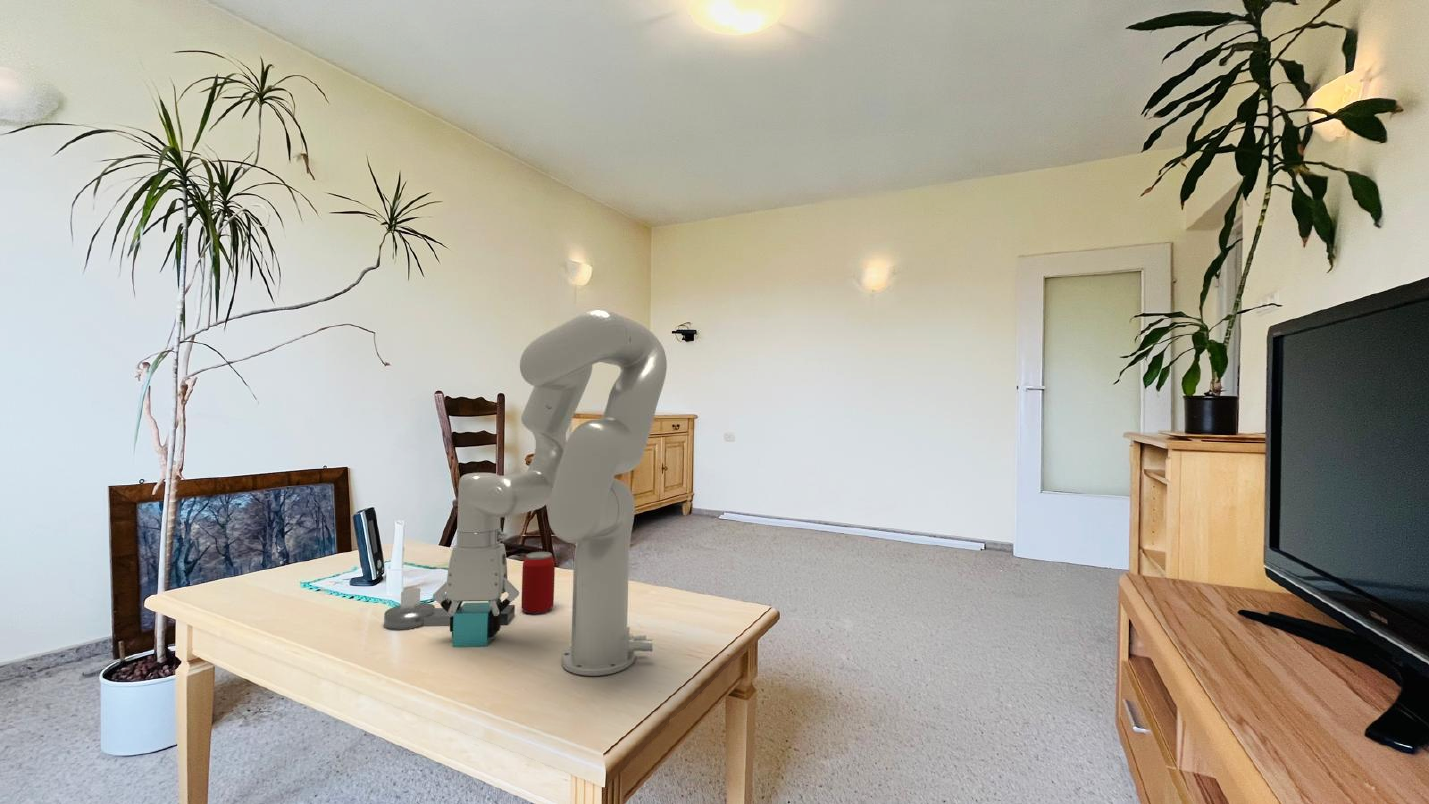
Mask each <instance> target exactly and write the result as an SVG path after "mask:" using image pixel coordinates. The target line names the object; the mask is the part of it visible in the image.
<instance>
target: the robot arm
mask: <svg viewBox="0 0 1429 804" xmlns="http://www.w3.org/2000/svg"><path fill="white" fill-rule="evenodd" d="M596 363H597V364H598V363H604V364H607V365H608V364H609V365H614V366H617V367H619V369H620V372H619V375H618V377H617V378H616V380H615V382H614V383H613V385H612V387H611V388H610V392H609V394H608V399H607V403H606V406H605V409H604V412H603V415H602V417H601V418H594V419H590V420H588V421H584V422H583V423H580V425H578V426H577V427H576V428H575V429H574V430H573V431H572V432H571V434H570V435H569V437H568V439H567V437H566V436H567V432H568V429H569V428H570V425H571V423H572V420H573V418H574V415H575V413H576V411H577V409H578V406H579V404H580V402H581V399H582V397H583V395H584V392H585V390H586V388H587V385H588V383H589V381H590V378H591V375H592V372H593V365H595V364H596ZM667 363H668V362H667V355H666V352H665V348H664V346H663V345H662V343H661V341H660V340H659V338H658V337H657V336H656V335H655V334H654V333H653V332H652V331H650V329H648V328H647V327H645V326H644V325H642V324H641V323H639V322H637V321H635V320H633V319H631V318H629V317H626V316H622V315H620V314H617V313H615V312H612V311H609V310H606V309H593V310H588V311H586V312H584V313H581V314H579V315H577V316H575V317H573V318H571V319H570V320H568V321H566V322H564V323H562V324H561V325H558V326H556V327H554V328H552V329H551V330H549V331H547V332H545V333H543V334H542V335H540V336H539V337H537V338H535V339H534V340H533V341H531V342H530V343H529V344H528V345H527V346H526V347H525V349H524V350H523V352H522V354H521V356H520V360H519V371H520V374H521V376H522V379H523V380H524V381H525V382H526V383H527V384H529V385H531V386H532V387H533V388H532V391H531V392H530V395H529V397H528V400H527V402H526V404H525V406H524V409H523V411H522V414H521V418H520V419H521V424H523V427H525V428H526V429H527V430H528V431H530V432H531V433H532V435H533V437H534V441H535V449H534V453H533V456H532V458H531V461H530V462H529V463H530V464H529V466H528V468H527V470H526V472H525V471H524V472H517V473H511V474H507V475H499V474H497V473H495V472H494V473H493V472H472V473H466V474H464V475H462V476H461V477H460V478H459V481H458V492H457V493H458V495H457V497H458V499H457V501H458V502H457V525H456V526H457V527H456V528H457V529H456V544H455V545H454V546H453V547H452V550H451V554H450V558H449V562H448V563H449V564H448V568H447V575H446V576H447V577H446V582H444V584H443V585H441V586H440V587H439V588H438V589H437V590H436V591H435V592H434V593H433V594H432V598H433V600H435V601H436V602H437V603H438V604H440V606H441V607H440V608H443V609H444V610H445V611H447V612H448V616H450V626H449V632H450V633H451V639H453V618H454V613H455V612H456V611H457V610H458V609H459V608H460V607H461V606H462V605H463V603H464V602H489V605H490V607H491V610H492V615H491V616H490V633H489V637H493V638H494V637H495V636H496V634H497V633H498V632H500V630H501V626H502V625H501V612H502V611H503V610H504V609H505V608H506V607H507V606H508V605H511V603H512V602H514V601H515V599H516V598H518V597H519V595H520V591H519V590H518V589H517V588H516V587H515V586H514V585H513V584H512V582H511V581H510V580H509V579H508V564H507V563H508V561H507V553H506V547H505V544H504V543H502V542H501V541H504V540H505V541H506V540H508V537H509V534H508V532H504V531H503V530H502V528H501V518H509V517H512V516H517V515H520V514H521V515H522V514H524V513H529V512H532V511H536V510H539V509H541V508H543V507H544V506H546V505H547V504H548V507H547V516H548V517H547V519H548V523H549V526H550V529H551V531H552V533H554V535H555V536H556V537H557V538H558V539H559V540H560V541H563V542H565V543H569V544H575V549H574V554H573V555H574V557H573V571H572V573H573V578H572V607H571V608H572V609H571V610H572V612H571V614H572V616H571V642H570V644H571V645H570V646H569V647H568V648H566V649H565V650H564V651H563V653H562V655H561V665H562V667H563V668H564V670H567V672H569V673H572V674H575V675H580V676H589V677H590V676H591V677H592V676H593V677H594V676H595V677H597V676H605V675H611V674H615V673H618V672H621V671H624V670H625V669H627V668H629V667H630V666H631V665H632V664H633V663H634V662H635V660H636V652H653V639H647V635H633V633H632V634H631V633H630V626H628V613H629V612H628V606H629V605H628V604H629V575H630V574H629V571H630V546H631V537H632V531H633V525H634V520H635V512H636V511H635V509H636V507H635V505H636V504H635V499H634V498H635V497H634V495H633V492H632V491H631V489H630V488H629V486H628V485H627V484H626V483H624V482H623V481H622V480H619V479H617V478H615V476H617V475H621V474H625V473H629V472H631V471H633V470H635V469H636V468H637V467H638V466H639V465H640V464H641V462H642V460H643V459H644V458H643V457H644V455H645V451H646V448H647V443H648V440H649V436H650V433H651V429H652V426H653V422H654V418H655V414H656V411H657V406H658V403H659V400H660V397H661V394H662V390H663V386H664V384H665V380H666V376H667V369H668V364H667ZM504 593H507V594H508V596H507V597H506V598H504V599H503V600H502V594H504Z"/></svg>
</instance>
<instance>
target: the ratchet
mask: <svg viewBox="0 0 1429 804" xmlns="http://www.w3.org/2000/svg"><path fill="white" fill-rule="evenodd" d="M515 607H516V604H509V605H508V606H507V607H506V608H505V609H504V610H503V611H502V612H501V626H508V625H509V624H510V623H511V621H512V620H513V618H514V617H516V616H515V610H516V609H515ZM383 617H384V618H383V628H384V629H386V630H389V631H394V632H395V631H397V632H400V631H411V630H416V629H420V628H423V627H450V616H448V612H447V611H445V610H444V609H443V608H442V607H436V606H435V604H433V603H428V602H421V588H419V587H418V588H417V587H414V588H413V587H412V588H411V587H410V588H406V589H404V590H403V591H401V594H400V605H396V606H393V607H391V608H389V609H387V610H386V611H384V616H383ZM415 628H416V629H415ZM410 629H411V630H410Z"/></svg>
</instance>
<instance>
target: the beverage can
mask: <svg viewBox="0 0 1429 804" xmlns="http://www.w3.org/2000/svg"><path fill="white" fill-rule="evenodd" d="M555 566H556V562H555V559H554V556H553V554H552V553H551V552H548V551H533V552H530V553H527V554H526V555H525V559H524V561H523V562H522V569H521V570H522V571H521V572H522V573H521V577H522V578H521V610H523V611H524V612H525V613H527V614H531V615H536V614H544V613H546V612H548V611H549V610H551V609H552V608H553V607H554V602H555V601H554V599H555V575H556V574H555V572H556V571H555V570H556V569H555V568H556V567H555Z"/></svg>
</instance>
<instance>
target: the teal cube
mask: <svg viewBox="0 0 1429 804" xmlns="http://www.w3.org/2000/svg"><path fill="white" fill-rule="evenodd" d="M491 615H492V610H491V607H490V605H489V602H488V601H481V602H463V603H462V605H461V607H460V608H459V609H458V610H457V611H456V612H455V613H454V618H453V638H452V648H466V647H467V648H468V647H471V648H472V647H475V648H476V647H478V648H479V647H487V646H488V645H489V644H490V642H491V641H492V640H493V638H494V637H489V633H490V616H491Z"/></svg>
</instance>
